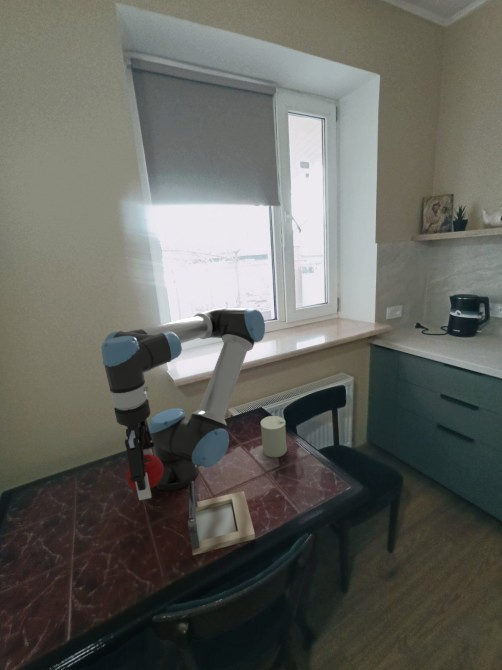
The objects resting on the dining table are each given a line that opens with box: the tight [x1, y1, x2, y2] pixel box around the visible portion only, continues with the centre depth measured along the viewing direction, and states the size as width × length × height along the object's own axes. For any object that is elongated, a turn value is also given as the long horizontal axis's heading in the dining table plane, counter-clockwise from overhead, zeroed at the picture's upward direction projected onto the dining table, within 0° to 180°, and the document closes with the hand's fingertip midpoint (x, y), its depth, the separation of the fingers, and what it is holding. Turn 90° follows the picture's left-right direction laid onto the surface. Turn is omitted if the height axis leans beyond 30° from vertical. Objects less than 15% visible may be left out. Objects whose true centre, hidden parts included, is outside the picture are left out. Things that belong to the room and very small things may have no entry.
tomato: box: [125, 454, 164, 491], centre depth 73 cm, size 9×9×8 cm
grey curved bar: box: [187, 480, 200, 551], centre depth 78 cm, size 2×17×9 cm, turn 12°
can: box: [260, 415, 288, 458], centre depth 109 cm, size 9×9×12 cm
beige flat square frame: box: [191, 490, 256, 556], centre depth 81 cm, size 16×15×2 cm
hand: (147, 483), depth 74 cm, fingers closed on tomato, 9 cm apart
